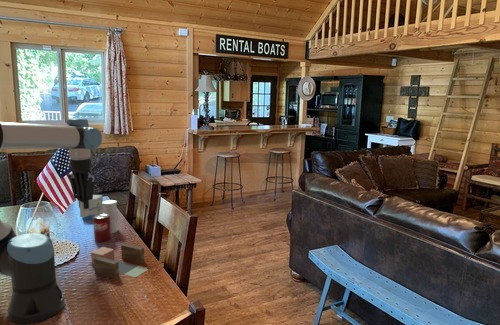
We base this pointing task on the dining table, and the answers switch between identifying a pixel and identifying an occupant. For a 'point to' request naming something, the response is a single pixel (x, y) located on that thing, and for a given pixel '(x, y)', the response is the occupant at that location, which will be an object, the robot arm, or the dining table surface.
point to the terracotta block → (103, 254)
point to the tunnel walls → (112, 267)
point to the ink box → (95, 206)
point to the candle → (111, 213)
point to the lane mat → (129, 269)
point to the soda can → (102, 228)
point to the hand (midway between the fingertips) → (84, 216)
